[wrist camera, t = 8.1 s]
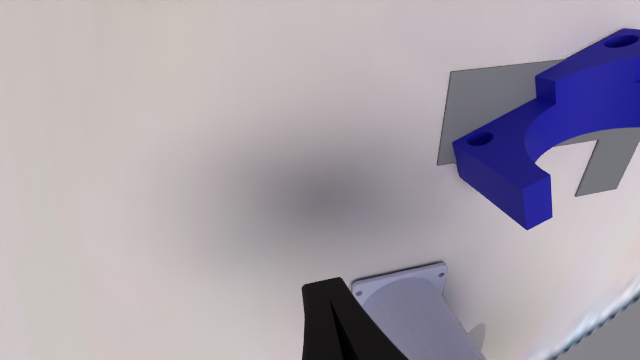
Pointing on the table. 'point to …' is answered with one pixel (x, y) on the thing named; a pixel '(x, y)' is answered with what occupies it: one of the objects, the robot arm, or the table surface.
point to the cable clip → (552, 125)
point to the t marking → (513, 91)
